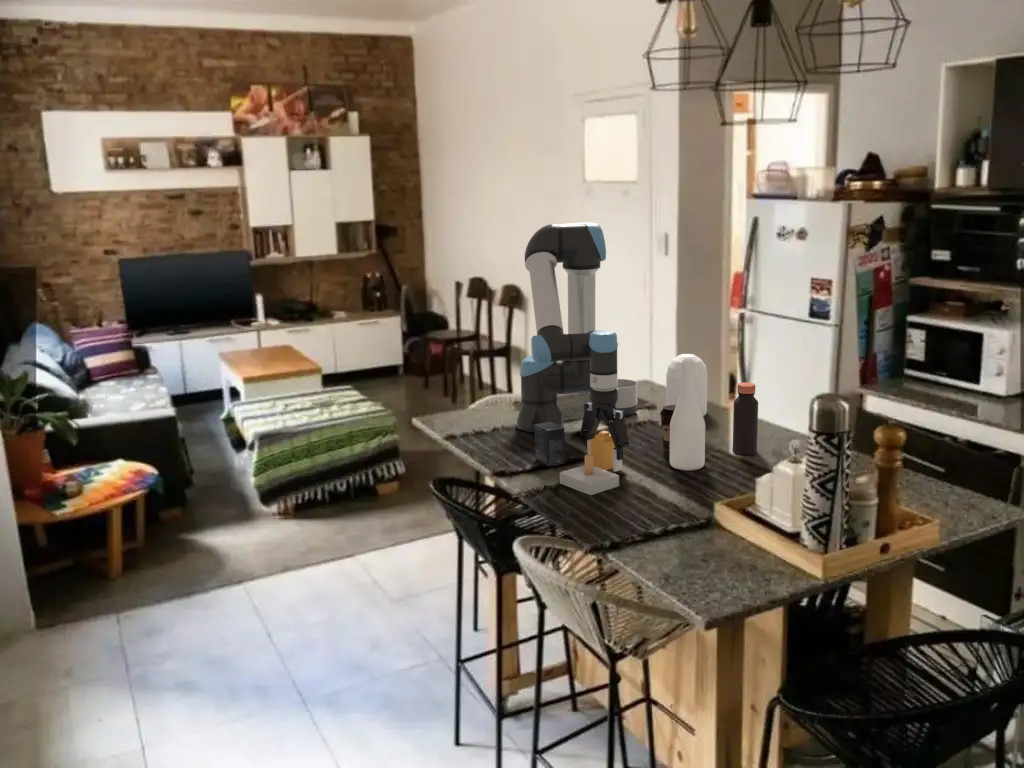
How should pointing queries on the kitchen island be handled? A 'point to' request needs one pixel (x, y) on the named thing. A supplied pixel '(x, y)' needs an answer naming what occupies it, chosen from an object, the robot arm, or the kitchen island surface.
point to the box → (550, 443)
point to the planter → (627, 396)
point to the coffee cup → (666, 425)
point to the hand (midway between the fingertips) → (604, 465)
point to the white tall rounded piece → (687, 425)
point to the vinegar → (745, 420)
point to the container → (676, 381)
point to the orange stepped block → (602, 450)
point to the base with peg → (589, 478)
